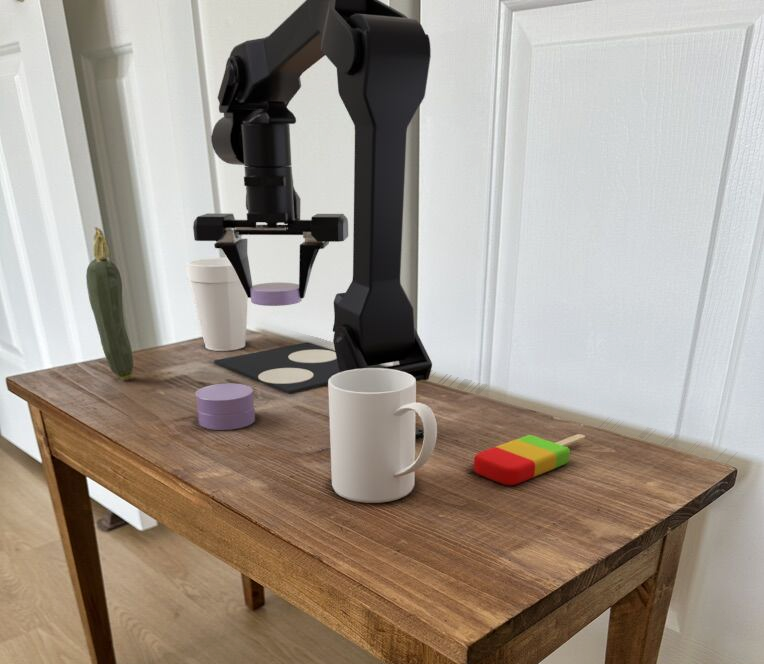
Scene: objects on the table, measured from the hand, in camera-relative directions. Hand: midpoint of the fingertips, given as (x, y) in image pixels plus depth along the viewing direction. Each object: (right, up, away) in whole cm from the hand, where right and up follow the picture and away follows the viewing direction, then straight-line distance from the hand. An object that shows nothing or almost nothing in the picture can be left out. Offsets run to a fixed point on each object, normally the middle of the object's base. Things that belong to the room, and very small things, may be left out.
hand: (276, 297), depth 99 cm
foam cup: (-11, -2, +23) cm, 26 cm away
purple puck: (-5, -16, -10) cm, 19 cm away
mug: (+14, -27, -28) cm, 41 cm away
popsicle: (+30, -23, -21) cm, 43 cm away
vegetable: (-22, -10, +5) cm, 25 cm away
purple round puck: (0, 0, 0) cm, 0 cm away
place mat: (+2, -7, +12) cm, 14 cm away
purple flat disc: (-5, -17, -9) cm, 20 cm away
